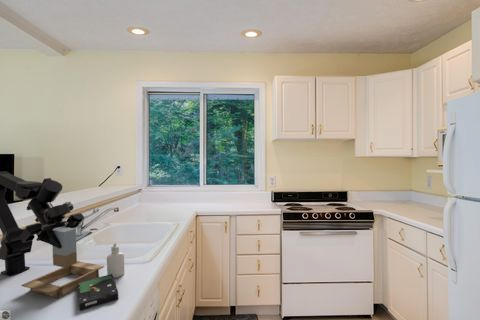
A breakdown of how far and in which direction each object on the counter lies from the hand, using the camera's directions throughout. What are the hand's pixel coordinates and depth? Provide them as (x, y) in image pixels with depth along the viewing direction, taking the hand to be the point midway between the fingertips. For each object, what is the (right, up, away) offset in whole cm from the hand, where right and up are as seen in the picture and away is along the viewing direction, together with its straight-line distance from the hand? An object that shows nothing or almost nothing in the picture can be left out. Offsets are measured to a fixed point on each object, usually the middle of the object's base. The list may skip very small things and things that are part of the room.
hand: (67, 245), depth 88 cm
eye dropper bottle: (+14, -13, +6) cm, 20 cm away
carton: (-1, -13, +1) cm, 13 cm away
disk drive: (+14, -14, -6) cm, 20 cm away
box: (-1, -7, +1) cm, 7 cm away
